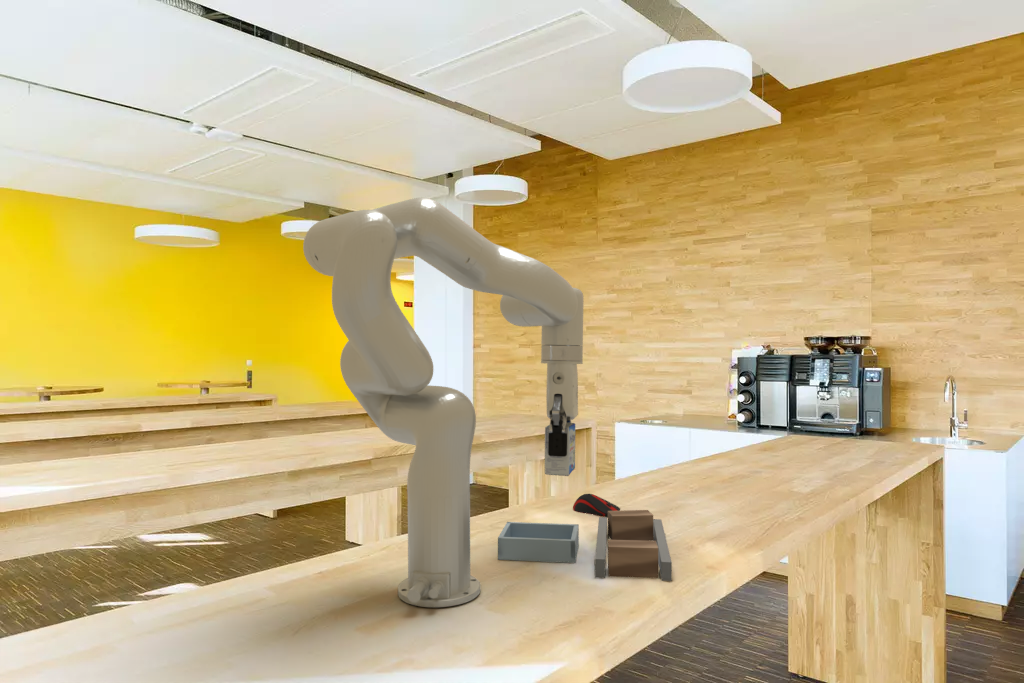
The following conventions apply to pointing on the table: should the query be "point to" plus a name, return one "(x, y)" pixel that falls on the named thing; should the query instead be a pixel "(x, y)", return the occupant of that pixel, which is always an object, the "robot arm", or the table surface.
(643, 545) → the near walnut block
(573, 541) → the tray
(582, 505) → the computer mouse
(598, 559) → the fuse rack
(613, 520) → the far walnut block
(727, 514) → the table surface
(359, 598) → the table surface
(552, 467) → the medicine box
